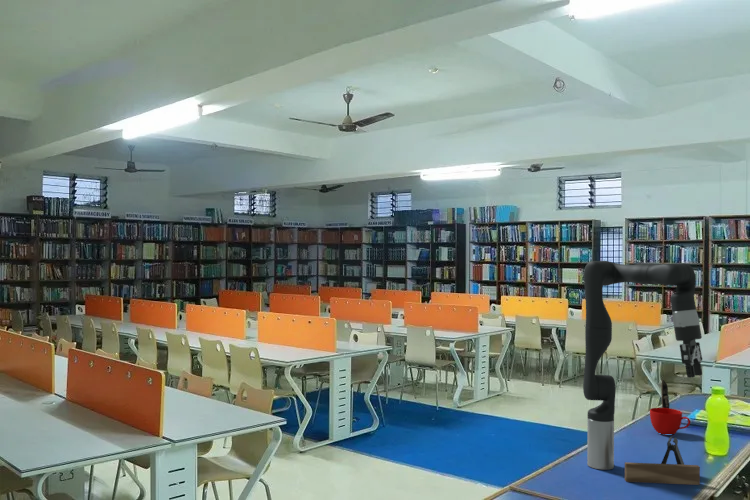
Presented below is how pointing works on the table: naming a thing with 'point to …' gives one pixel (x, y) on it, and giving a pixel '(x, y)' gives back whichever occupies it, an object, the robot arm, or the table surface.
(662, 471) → the board
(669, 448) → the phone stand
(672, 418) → the ceramic cup
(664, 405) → the statue
